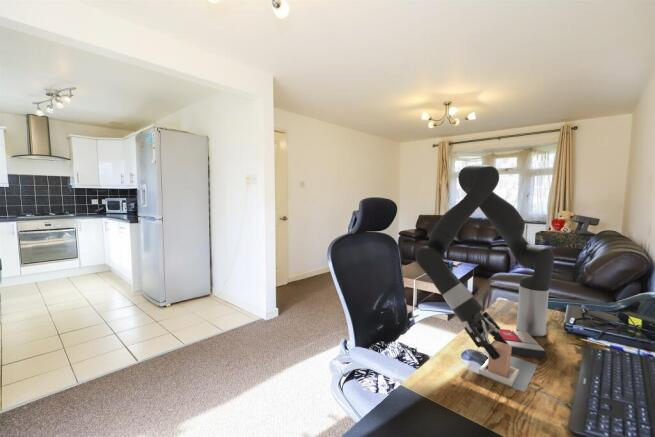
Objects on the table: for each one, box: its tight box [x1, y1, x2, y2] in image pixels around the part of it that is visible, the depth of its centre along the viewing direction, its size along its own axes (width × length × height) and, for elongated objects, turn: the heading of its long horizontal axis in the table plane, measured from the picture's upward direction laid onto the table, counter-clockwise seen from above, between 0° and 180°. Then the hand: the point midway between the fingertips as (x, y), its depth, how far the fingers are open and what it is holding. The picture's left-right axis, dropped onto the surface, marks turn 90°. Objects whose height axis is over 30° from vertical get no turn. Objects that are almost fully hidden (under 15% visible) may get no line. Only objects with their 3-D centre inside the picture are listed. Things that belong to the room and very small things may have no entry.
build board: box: [467, 349, 539, 393], centre depth 88 cm, size 18×14×2 cm
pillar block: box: [488, 339, 512, 378], centre depth 84 cm, size 4×4×8 cm
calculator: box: [499, 328, 547, 360], centre depth 102 cm, size 11×4×15 cm
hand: (501, 352), depth 84 cm, fingers open, 8 cm apart
